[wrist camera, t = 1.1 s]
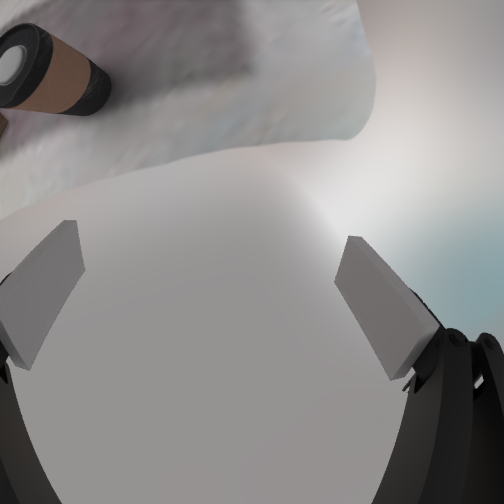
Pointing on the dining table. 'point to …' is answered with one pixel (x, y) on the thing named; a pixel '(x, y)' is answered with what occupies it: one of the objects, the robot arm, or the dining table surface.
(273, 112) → the dining table surface
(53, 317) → the robot arm
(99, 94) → the travel mug
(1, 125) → the fader rail
